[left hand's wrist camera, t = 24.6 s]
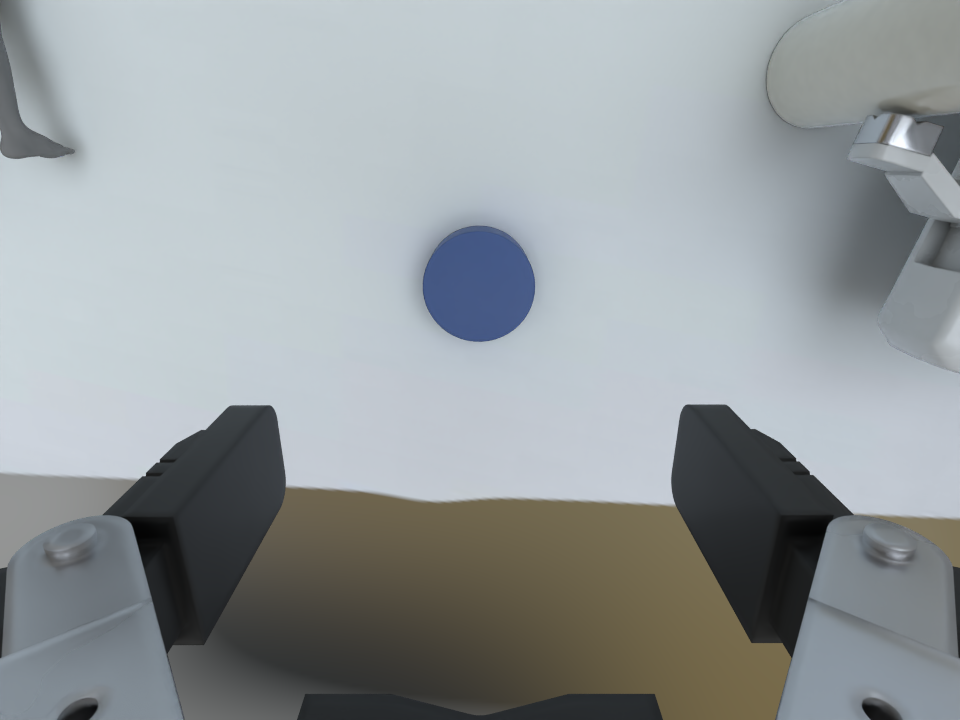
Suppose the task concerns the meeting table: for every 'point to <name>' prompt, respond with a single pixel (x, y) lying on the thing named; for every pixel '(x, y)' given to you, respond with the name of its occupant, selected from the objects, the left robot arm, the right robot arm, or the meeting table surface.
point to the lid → (478, 284)
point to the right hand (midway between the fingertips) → (913, 32)
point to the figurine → (20, 122)
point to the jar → (868, 63)
